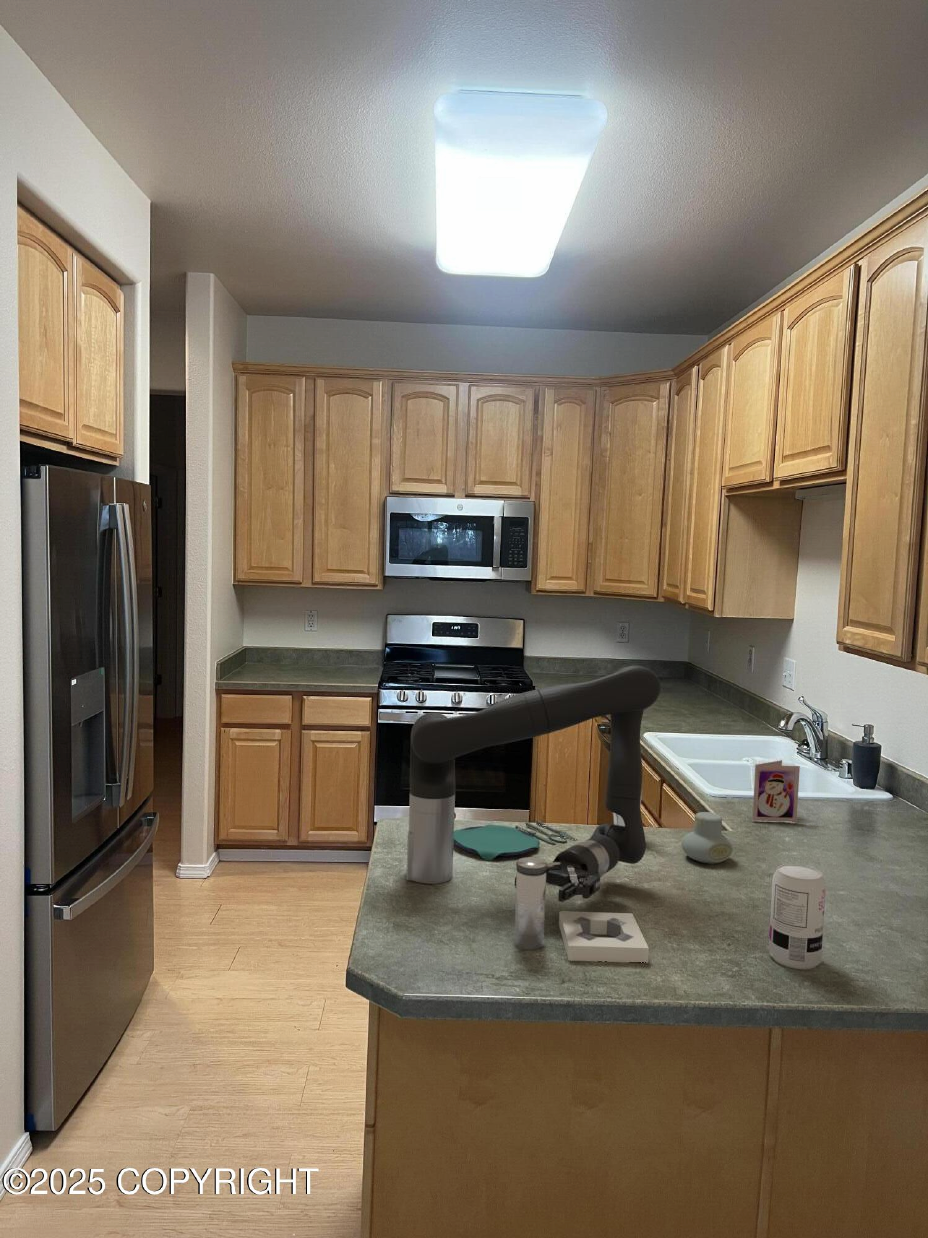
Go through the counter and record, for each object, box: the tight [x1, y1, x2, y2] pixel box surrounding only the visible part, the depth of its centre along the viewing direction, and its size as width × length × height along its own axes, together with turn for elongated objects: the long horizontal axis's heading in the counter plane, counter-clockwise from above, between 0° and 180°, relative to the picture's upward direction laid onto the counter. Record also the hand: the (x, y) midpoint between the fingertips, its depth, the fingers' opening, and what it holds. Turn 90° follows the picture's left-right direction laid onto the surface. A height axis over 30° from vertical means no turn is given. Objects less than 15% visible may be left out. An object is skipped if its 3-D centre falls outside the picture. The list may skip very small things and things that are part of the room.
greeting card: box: [752, 759, 801, 823], centre depth 225 cm, size 11×7×15 cm, turn 90°
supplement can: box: [768, 863, 827, 970], centre depth 143 cm, size 8×8×15 cm
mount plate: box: [558, 910, 650, 964], centre depth 148 cm, size 13×14×2 cm
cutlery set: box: [453, 820, 579, 861], centre depth 200 cm, size 20×30×2 cm, turn 124°
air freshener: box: [681, 811, 734, 865], centre depth 192 cm, size 11×8×10 cm
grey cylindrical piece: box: [513, 857, 548, 951], centre depth 146 cm, size 5×5×14 cm
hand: (538, 890), depth 148 cm, fingers open, 8 cm apart
